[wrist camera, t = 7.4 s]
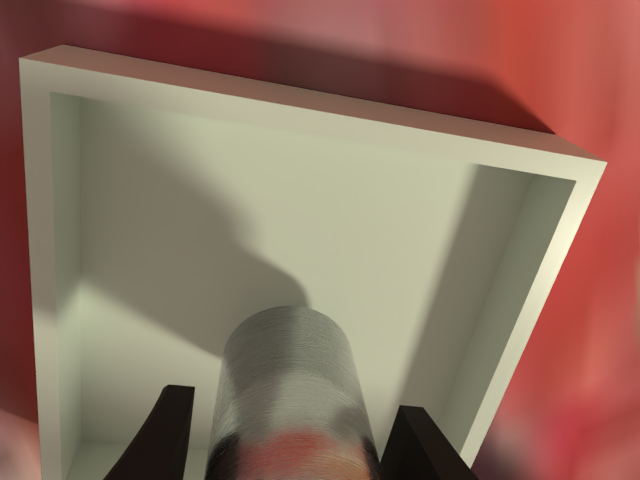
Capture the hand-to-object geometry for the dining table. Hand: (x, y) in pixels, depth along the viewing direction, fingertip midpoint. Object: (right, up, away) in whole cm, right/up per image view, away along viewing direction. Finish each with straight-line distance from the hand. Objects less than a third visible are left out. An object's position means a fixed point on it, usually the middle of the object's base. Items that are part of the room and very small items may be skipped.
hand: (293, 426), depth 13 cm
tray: (0, +2, +5) cm, 5 cm away
